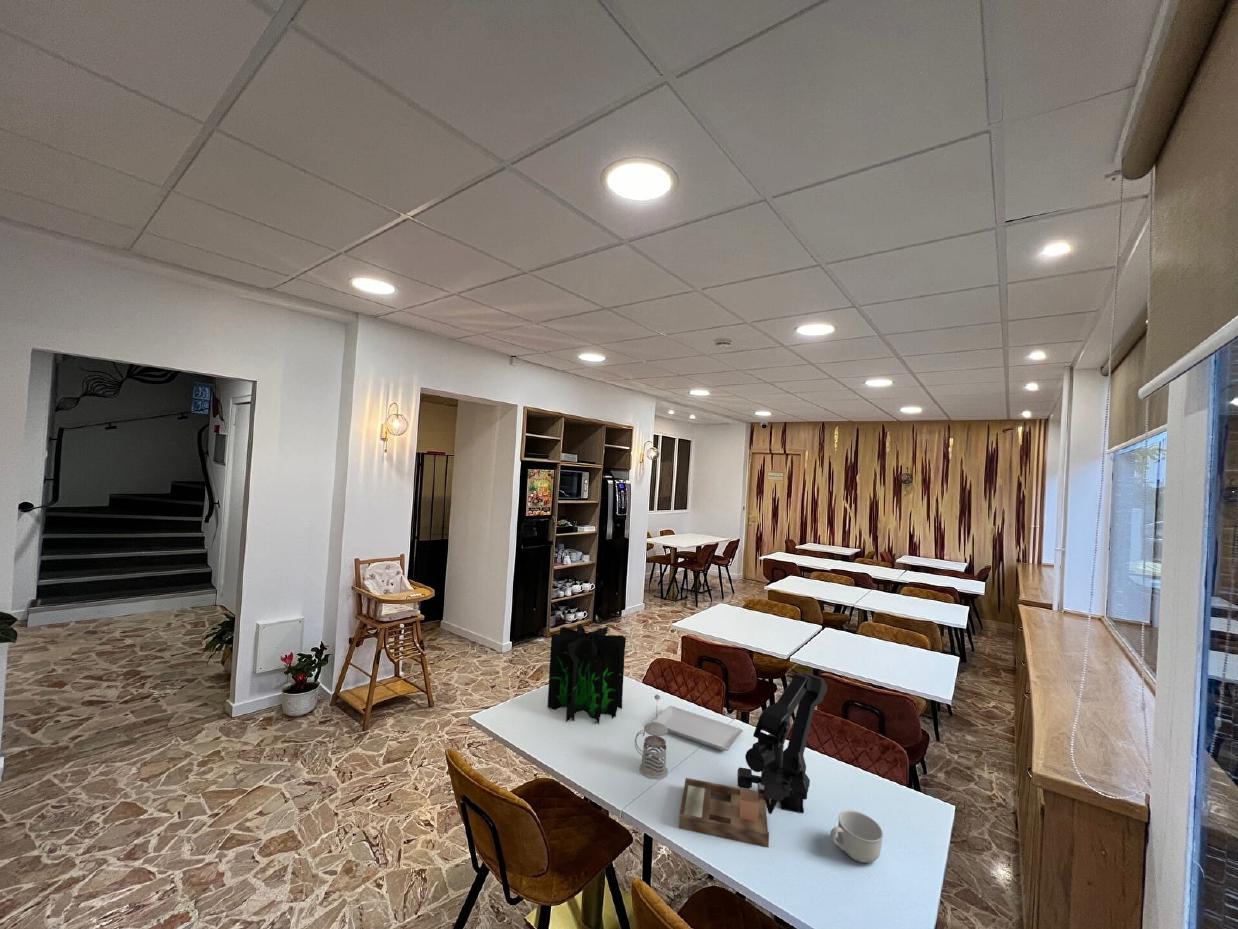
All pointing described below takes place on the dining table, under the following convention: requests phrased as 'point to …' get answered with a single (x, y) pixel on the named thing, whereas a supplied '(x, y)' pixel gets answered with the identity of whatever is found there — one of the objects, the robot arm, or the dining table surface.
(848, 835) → the teacup
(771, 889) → the dining table surface
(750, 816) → the block
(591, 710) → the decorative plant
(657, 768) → the french press
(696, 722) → the tray
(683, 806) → the box
